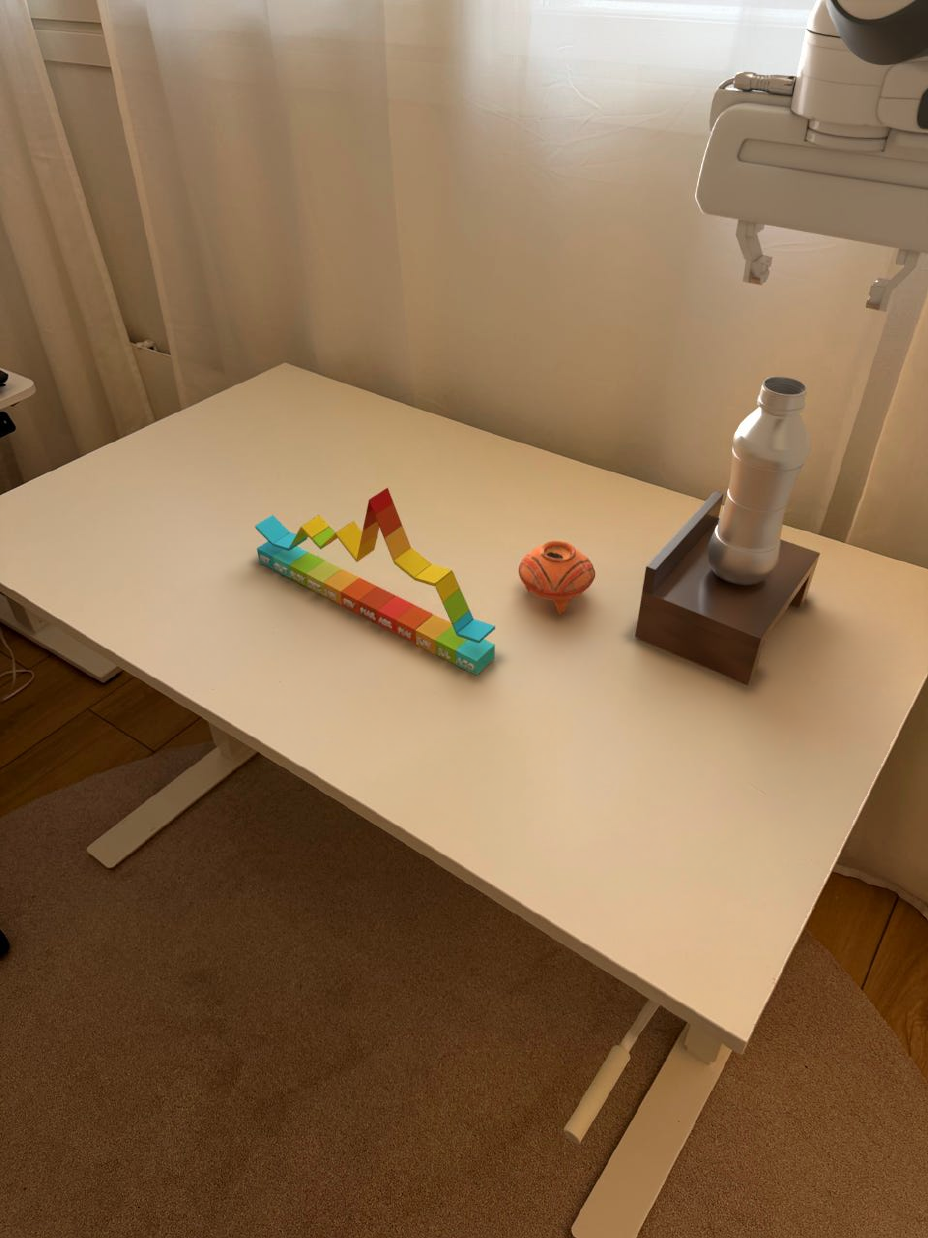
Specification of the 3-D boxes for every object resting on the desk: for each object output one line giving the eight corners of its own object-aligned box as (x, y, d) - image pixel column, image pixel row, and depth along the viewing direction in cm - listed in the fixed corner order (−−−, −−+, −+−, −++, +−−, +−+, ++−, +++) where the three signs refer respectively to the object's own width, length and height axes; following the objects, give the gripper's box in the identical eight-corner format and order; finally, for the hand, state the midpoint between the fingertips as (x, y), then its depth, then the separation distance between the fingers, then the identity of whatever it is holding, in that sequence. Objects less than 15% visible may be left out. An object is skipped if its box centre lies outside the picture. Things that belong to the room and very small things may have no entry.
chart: (257, 563, 100) (234, 444, 90) (278, 549, 102) (258, 431, 92) (475, 677, 86) (475, 551, 76) (494, 659, 88) (497, 534, 78)
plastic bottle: (718, 546, 92) (759, 362, 79) (783, 568, 89) (836, 381, 76) (692, 578, 88) (731, 389, 75) (759, 602, 85) (811, 411, 72)
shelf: (806, 598, 95) (828, 528, 89) (747, 685, 85) (768, 613, 79) (700, 559, 100) (715, 490, 94) (634, 637, 90) (645, 566, 84)
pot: (507, 613, 93) (511, 553, 89) (526, 584, 99) (530, 527, 96) (584, 626, 91) (590, 565, 87) (597, 595, 97) (603, 537, 94)
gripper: (698, 75, 61) (669, 279, 70) (1024, 109, 52) (944, 338, 61) (734, 62, 65) (703, 256, 74) (1044, 91, 56) (966, 309, 65)
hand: (814, 294), depth 67 cm, fingers open, 8 cm apart
